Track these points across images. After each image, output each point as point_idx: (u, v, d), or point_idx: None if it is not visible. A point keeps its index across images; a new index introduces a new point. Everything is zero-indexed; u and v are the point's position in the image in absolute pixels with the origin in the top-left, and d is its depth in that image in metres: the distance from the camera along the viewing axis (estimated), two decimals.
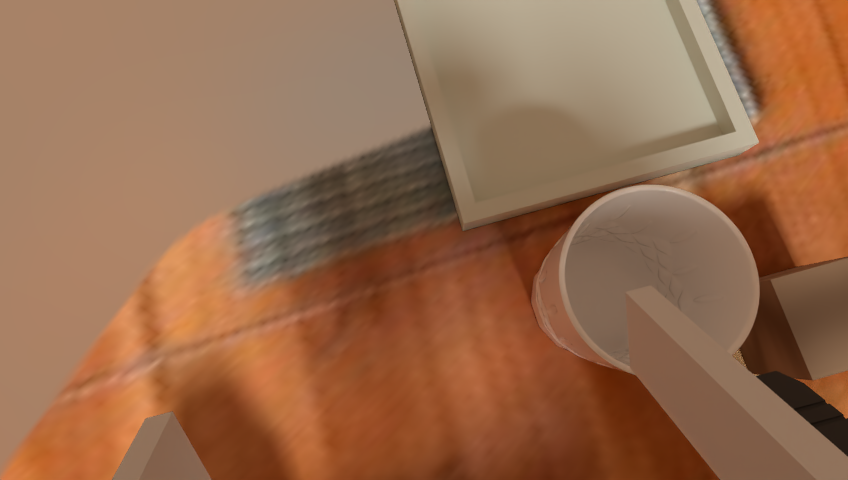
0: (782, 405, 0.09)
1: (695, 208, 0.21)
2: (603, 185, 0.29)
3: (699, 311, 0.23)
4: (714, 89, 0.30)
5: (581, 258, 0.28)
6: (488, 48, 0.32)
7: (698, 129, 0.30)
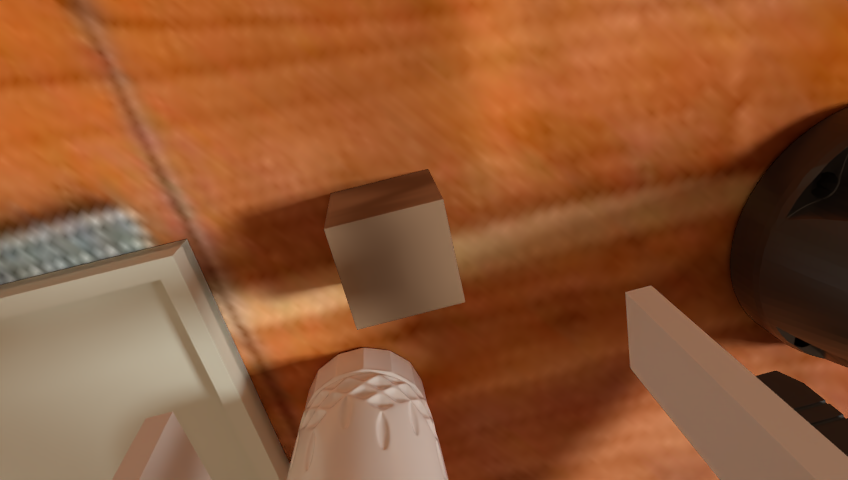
0: (782, 405, 0.09)
1: None
2: (246, 408, 0.27)
3: None
4: None
5: None
6: None
7: (159, 295, 0.25)
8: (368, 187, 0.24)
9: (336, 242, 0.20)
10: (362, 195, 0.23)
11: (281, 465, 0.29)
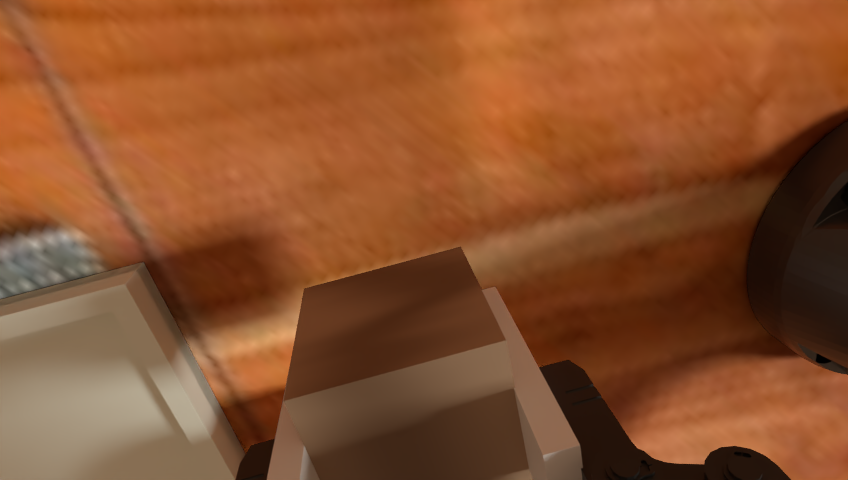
0: (544, 387, 0.11)
1: None
2: (218, 447, 0.24)
3: None
4: None
5: None
6: None
7: (113, 326, 0.22)
8: (365, 283, 0.15)
9: (307, 421, 0.11)
10: (355, 304, 0.14)
11: None
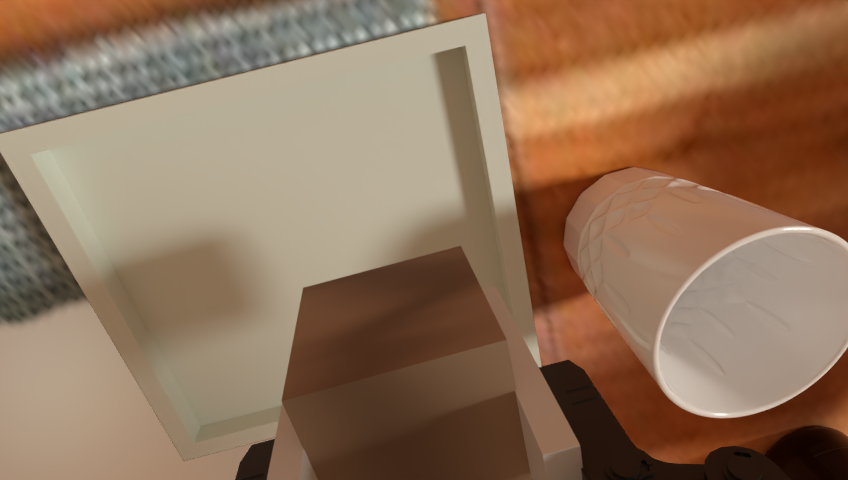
0: (544, 387, 0.11)
1: None
2: None
3: None
4: (394, 62, 0.20)
5: None
6: None
7: (442, 81, 0.22)
8: (364, 282, 0.14)
9: (306, 422, 0.11)
10: (354, 303, 0.13)
11: None
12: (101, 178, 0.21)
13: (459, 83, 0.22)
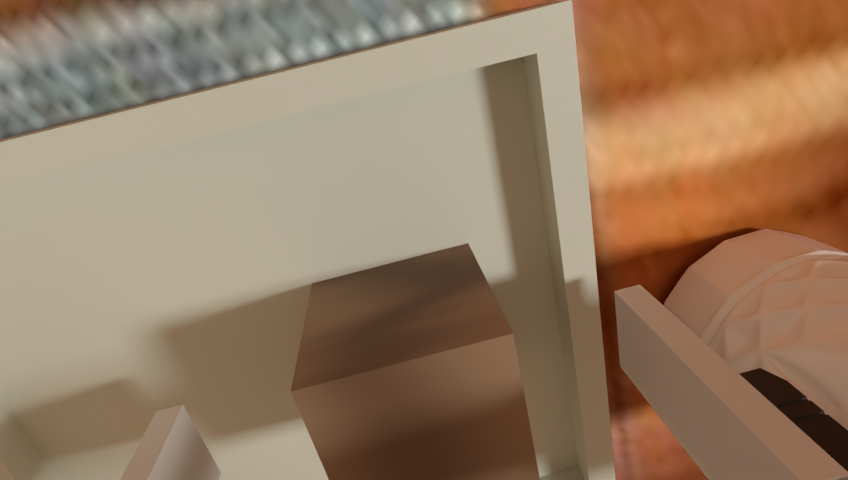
0: (763, 401, 0.10)
1: None
2: None
3: None
4: None
5: None
6: (301, 462, 0.18)
7: (491, 108, 0.14)
8: (372, 278, 0.15)
9: (314, 412, 0.11)
10: (363, 298, 0.14)
11: None
12: None
13: (518, 111, 0.14)
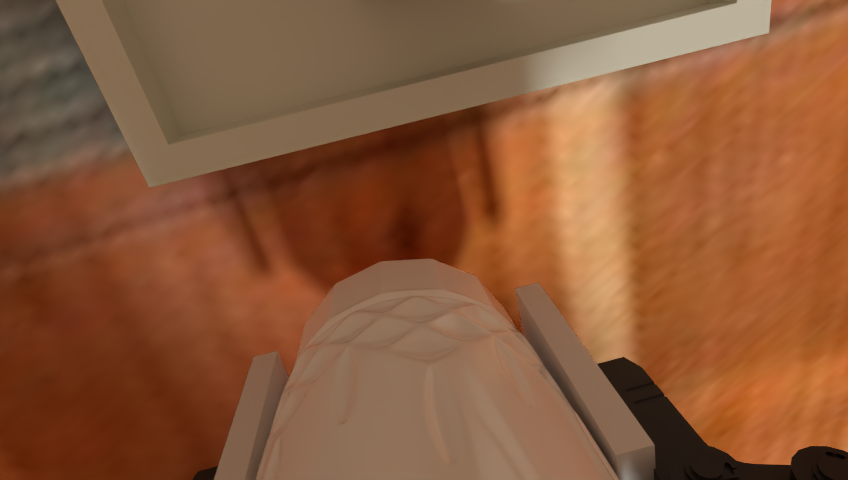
0: (606, 385, 0.11)
1: None
2: None
3: None
4: None
5: None
6: None
7: None
8: None
9: None
10: None
11: None
12: None
13: (658, 3, 0.14)
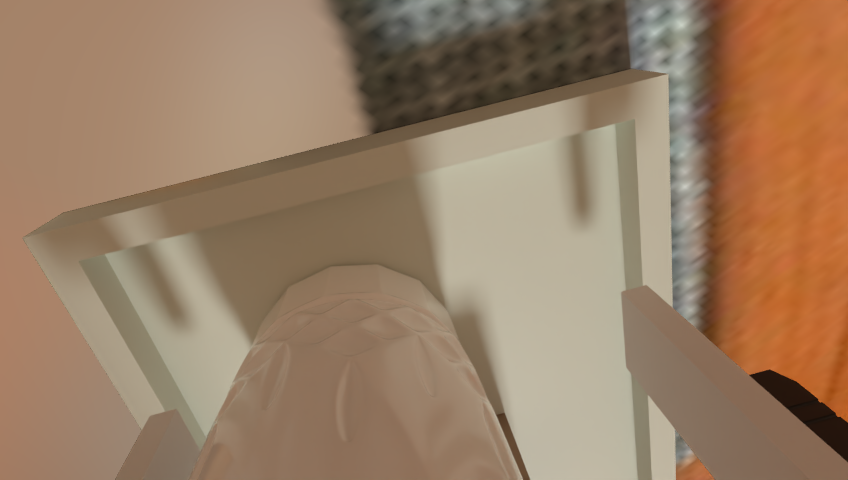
0: (775, 404, 0.09)
1: None
2: None
3: None
4: (648, 477, 0.20)
5: None
6: None
7: None
8: None
9: None
10: None
11: None
12: (564, 171, 0.16)
13: None
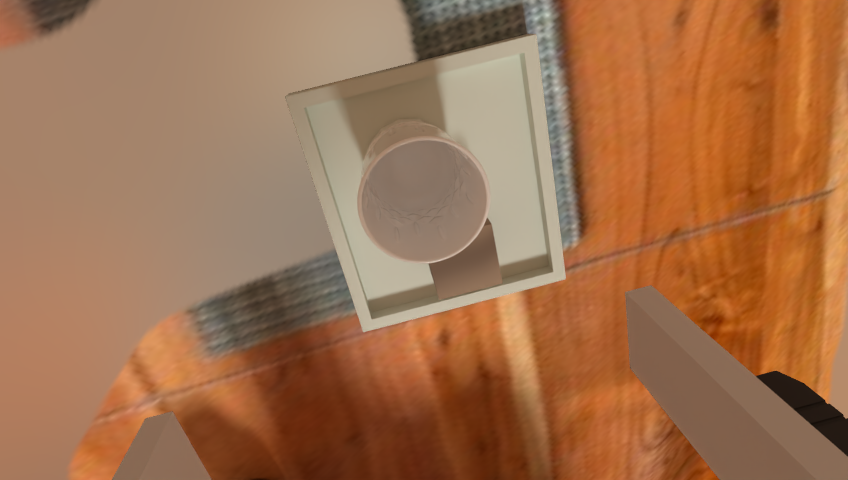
0: (782, 405, 0.09)
1: (462, 151, 0.29)
2: None
3: (465, 203, 0.33)
4: (548, 239, 0.41)
5: None
6: None
7: (532, 258, 0.43)
8: None
9: (482, 230, 0.36)
10: None
11: None
12: (499, 78, 0.36)
13: (530, 267, 0.43)
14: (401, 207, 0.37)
